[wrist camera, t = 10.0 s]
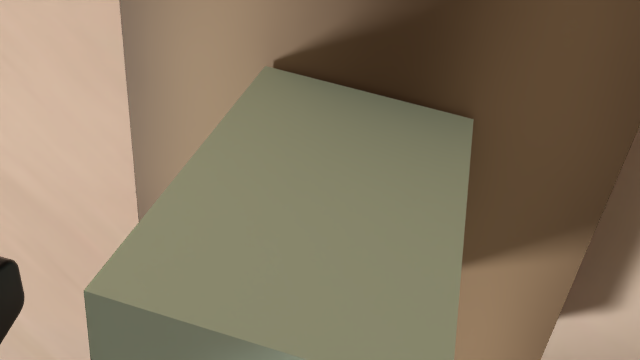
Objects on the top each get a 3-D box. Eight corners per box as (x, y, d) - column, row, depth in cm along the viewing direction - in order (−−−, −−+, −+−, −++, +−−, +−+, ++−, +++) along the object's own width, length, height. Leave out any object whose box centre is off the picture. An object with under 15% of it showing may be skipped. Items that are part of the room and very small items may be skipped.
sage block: (247, 226, 16) (102, 482, 10) (265, 65, 13) (84, 291, 7) (419, 275, 15) (369, 575, 9) (473, 119, 13) (450, 404, 7)
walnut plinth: (187, 232, 20) (144, 292, 18) (175, -136, 14) (109, -124, 12) (523, 311, 19) (527, 389, 16) (668, -69, 13) (708, -39, 10)
